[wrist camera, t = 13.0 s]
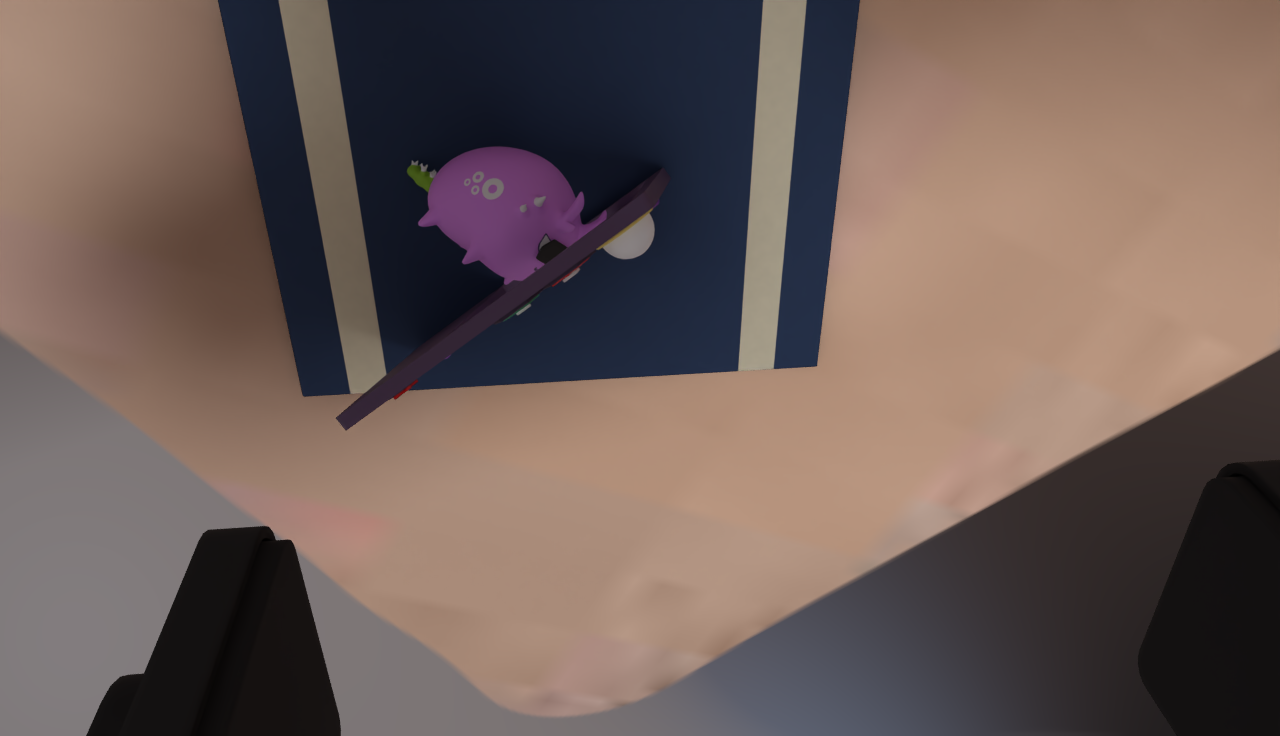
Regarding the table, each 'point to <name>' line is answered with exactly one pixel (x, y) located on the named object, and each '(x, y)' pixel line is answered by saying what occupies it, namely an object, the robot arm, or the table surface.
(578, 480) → the table surface
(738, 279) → the cloth
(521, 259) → the monster skateboard toy
